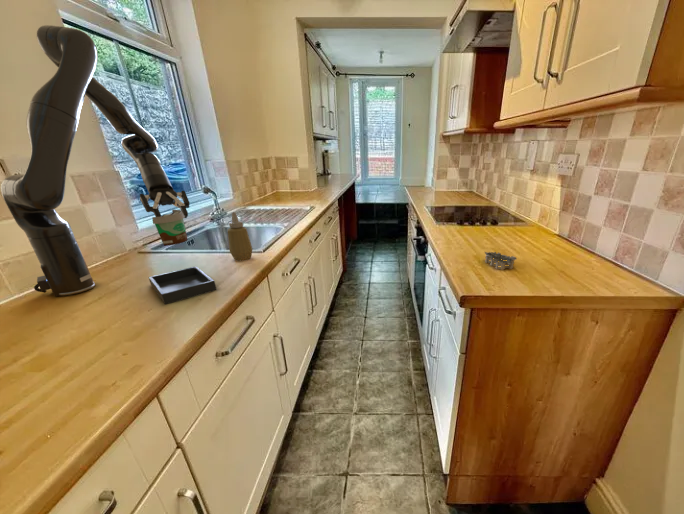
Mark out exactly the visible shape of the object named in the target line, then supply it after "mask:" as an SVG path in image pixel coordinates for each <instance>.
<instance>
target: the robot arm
mask: <svg viewBox="0 0 684 514" xmlns="http://www.w3.org/2000/svg"><path fill="white" fill-rule="evenodd" d="M36 39H37V43H38V45H39V47H40V48H41V51H42V52H43V53H44V54H45V55H46V57H47V58H48V59H49V60H50V61H51V62H52V63H53V64H54V65H55V66H56V67H57V70H56V72H55V73H54V75H52V77H51V78H49V80H47V82H45V83H44V84H43V85H42V86H40V88H38V90H36V92H35V93H34V95H32V97H31V100H30V103H29V106H28V111H27V115H26V119H25V120H26V121H25V124H26V125H25V127H26V132H27V135H28V139H29V143H30V157H29V161H28V164H27V167H26V170H25V172H24V174H23V173H22V174H21V173H20V174H19V173H18V174H11V175H8V176H7V177H4V179H3V180H2V181H1V183H0V192H1V196H2V198H3V201H4V203H5V204H6V207H7V208H8V211H9V212H10V214H11V216H12V217H13V220H14V221H15V224H16V225H17V226H18V227H19V228H20V229H21V230H22V231H23V232H24V233H25V236H26V237H27V239H28V242H29V243H30V245H31V247H32V250H33V252H34V254H35V256H36V258H37V260H38V262H39V265H40V266H39V267H40V269H41V272H42V274H43V275H41V276H37V279H36V284H35V285H34V286H33V289H34V291H36V292H39V293H45V294H46V293H47V292H48V291H49V290H51V292H52V294H53V296H54V297H55V298H57V297H62V296H63V297H65V296H71V295H72V296H73V295H76V294H77V295H78V294H81V293H85V292H87V291H89V290H92V289H93V288H95V287H96V283H95V281H94V279H93V276H92V275H91V272H90V269H89V267H88V264H87V263H86V261H85V257H84V255H83V252H82V250H81V248H80V246H79V244H78V241H77V239H76V237H75V234H74V231H73V229H72V227H71V224H70V223H69V222H68V221H66V220H65V219H63V218H62V217H61V216H60V215H59V214H58V213H57V211H56V209H57V208H58V207H59V206H61V204H62V202H63V201H64V197H65V191H66V190H65V189H66V179H67V169H68V164H69V159H70V157H71V151H72V147H73V143H74V140H75V136H76V133H77V128H78V125H79V120H80V115H81V110H82V106H83V103H84V100H85V97H87V99H89V100H90V101H91V102H92V103H93V104H94V105H95V107H96V108H98V110H99V111H100V112H101V114H102V115H103V116H104V117H105V119H106V120H107V121H108V123H109V124H110V125H111V127H112V128H113V130H115V131H116V132H117V133H118V134H121V135H128V136H125V137H123V138H122V139H121V148H122V149H123V150H124V151H125V152H126V154H128V155H129V157H131V159H132V160H133V161H134V163H135V164H136V166H137V168H138V170H139V172H140V175H141V179H142V182H143V183H144V185H145V188H146V190H147V192H148V194H143V193H139V200H140V202H141V204H142V206H143V208H144V211H146V213H153V214H154V217H161V216H162V214H161V212H160V210H159V209H160V208H161V206H162V207H163V206H164V207H165V206H174V207H175V208H178V209H179V210H181V212H183V214H184V216H185V218H184V219H187V218H188V216H189V211H188V210H187V209H190V200H189V198H188V195H187V193H186V191H185V190H181V191H180V192H179V191H178V192H176V191H175V190H174V187H173V185H172V183H171V181H170V179H169V177H168V175H167V173H166V172H165V170H164V168H163V166H162V164H161V161H160V160H159V158H158V157H157V155H155V154H154V153H156V152H157V151H158V149H159V145H158V142H157V140H156V139H155V137H153V135H152V134H151V133H149V132H148V131H147V130H145V128H143V127H142V126H141V125H140V124H139V123H138V122H137V121H136V120H135V118H134V117H133V115H132V114H131V112H130V111H129V109H128V108H127V107H126V106H125V104H124V103H123V102H122V101H121V100H120V99H119V98H118V97H117V96H116V95H115V94H113V92H111V91H110V90H109V89H107V88H106V87H105V86H104V85H103V84H101V83H100V82H99V81H98V80H97V79H96V78H95V77H94V76H93V75H94V73H95V71H96V68H97V66H98V60H99V54H98V48H97V46H96V44H95V42H94V40H93V38H91V36H90V34H89V35H88V33H86V32H85V31H83V30H81V29H78V28H73V27H67V26H62V25H61V26H60V25H53V24H51V25H49V24H45V25H41V26H39V27H38V28H37V30H36ZM179 198H180V199H181V200H182V201H183V202H182V201H181V200H180V199H179ZM149 200H151V201H152V202H153V205H152V206H150V203H149Z"/></svg>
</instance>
